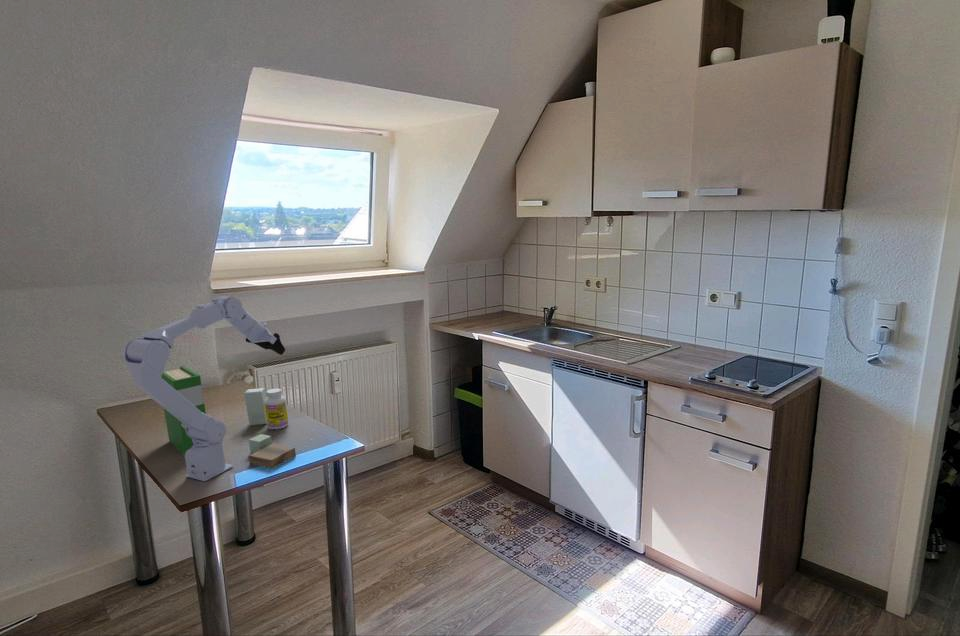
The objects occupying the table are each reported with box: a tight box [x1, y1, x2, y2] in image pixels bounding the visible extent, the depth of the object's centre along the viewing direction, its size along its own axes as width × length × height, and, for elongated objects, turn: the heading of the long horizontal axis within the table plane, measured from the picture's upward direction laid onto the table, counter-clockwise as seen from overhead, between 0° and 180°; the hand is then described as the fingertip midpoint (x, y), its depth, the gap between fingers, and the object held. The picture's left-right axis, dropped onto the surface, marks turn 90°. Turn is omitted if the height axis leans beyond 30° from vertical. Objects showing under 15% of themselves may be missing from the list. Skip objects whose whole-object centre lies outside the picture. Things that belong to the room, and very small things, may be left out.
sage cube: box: [248, 433, 273, 454], centre depth 168 cm, size 4×4×4 cm
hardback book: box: [161, 365, 207, 457], centre depth 174 cm, size 18×7×24 cm, turn 43°
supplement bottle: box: [265, 388, 289, 430], centre depth 187 cm, size 7×7×13 cm
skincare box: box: [243, 387, 268, 426], centre depth 191 cm, size 6×4×12 cm
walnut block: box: [248, 442, 297, 469], centre depth 162 cm, size 9×9×3 cm
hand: (275, 349), depth 175 cm, fingers open, 7 cm apart
